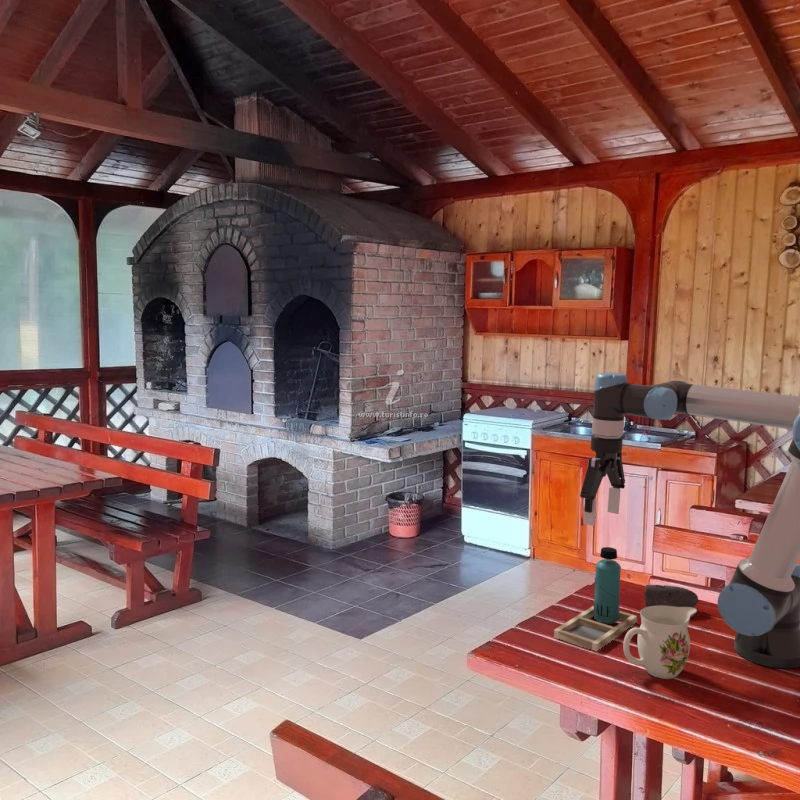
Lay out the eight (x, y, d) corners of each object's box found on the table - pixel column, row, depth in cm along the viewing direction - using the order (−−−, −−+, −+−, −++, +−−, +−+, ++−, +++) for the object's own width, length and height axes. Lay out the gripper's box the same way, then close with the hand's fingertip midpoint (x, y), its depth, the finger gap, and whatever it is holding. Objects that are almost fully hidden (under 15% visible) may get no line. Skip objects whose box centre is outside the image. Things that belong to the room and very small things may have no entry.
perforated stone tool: (694, 607, 203) (695, 582, 202) (701, 615, 197) (703, 589, 196) (638, 606, 203) (639, 581, 202) (644, 614, 198) (645, 589, 197)
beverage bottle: (616, 619, 194) (619, 544, 192) (621, 630, 188) (624, 553, 185) (590, 618, 195) (593, 543, 192) (594, 629, 188) (597, 552, 186)
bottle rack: (596, 611, 199) (596, 603, 199) (636, 623, 192) (637, 615, 192) (553, 637, 184) (554, 629, 183) (596, 652, 176) (596, 644, 176)
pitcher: (608, 666, 169) (611, 608, 168) (676, 655, 174) (680, 599, 173) (637, 690, 159) (640, 628, 157) (708, 678, 164) (712, 618, 162)
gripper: (614, 427, 197) (609, 505, 200) (569, 440, 178) (563, 526, 181) (642, 431, 192) (636, 511, 195) (598, 445, 173) (592, 533, 176)
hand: (601, 518), depth 188 cm, fingers open, 13 cm apart
